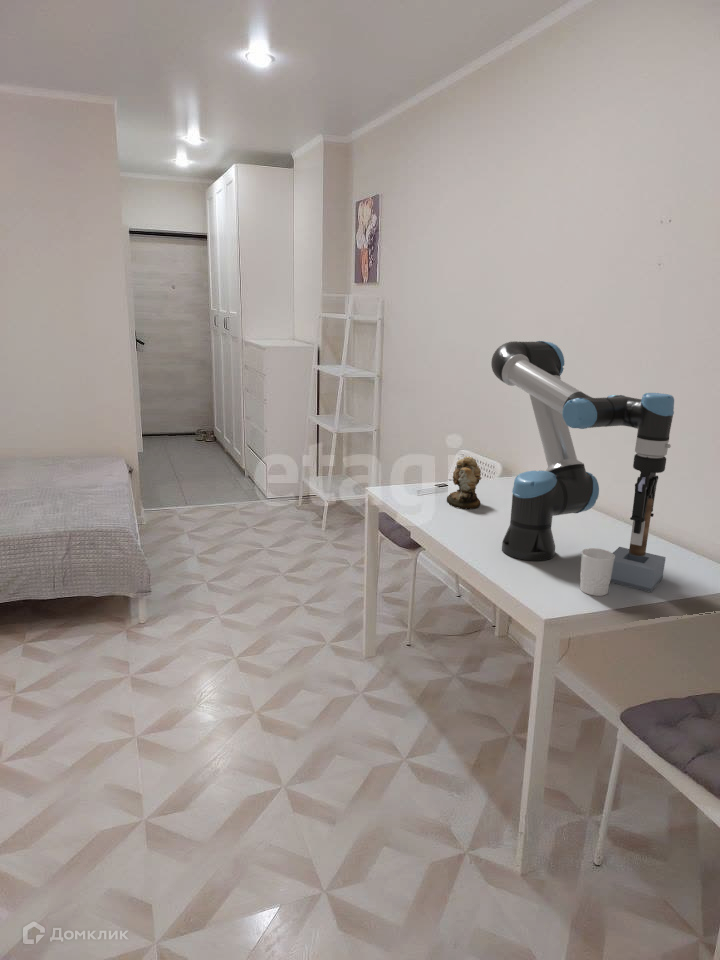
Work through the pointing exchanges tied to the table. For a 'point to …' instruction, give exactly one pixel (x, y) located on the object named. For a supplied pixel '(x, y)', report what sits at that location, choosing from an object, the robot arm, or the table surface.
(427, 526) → the table surface
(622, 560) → the socket block
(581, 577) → the white cup
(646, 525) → the walnut dowel
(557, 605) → the table surface
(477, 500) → the brown stone bust
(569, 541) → the table surface
